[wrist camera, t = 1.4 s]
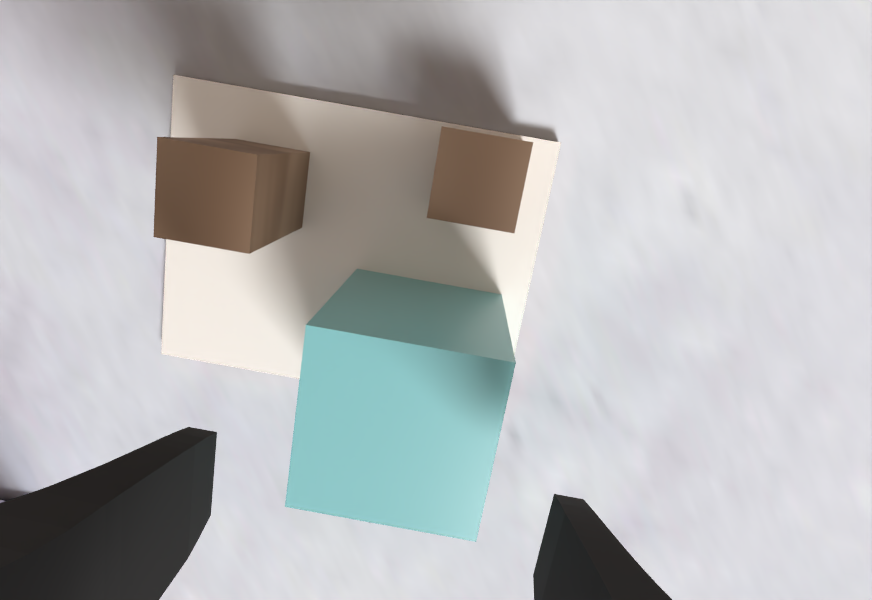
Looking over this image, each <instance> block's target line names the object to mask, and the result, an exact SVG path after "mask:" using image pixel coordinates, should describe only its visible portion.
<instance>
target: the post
mask: <svg viewBox="0 0 872 600" xmlns="http://www.w3.org/2000/svg"><path fill="white" fill-rule="evenodd" d="M309 159H310V152H307V151H301V150H296V149H290V148H284V147H279V146H273V145H267V144H262V143H256V142H250V141H245V140H239V139H224V138H180V137H157V162H156V189H155V215H154V237H157V238H163V239H168V240H174V241H180V242H185V243H191V244H196V245H202V246H208V247H213V248H219V249H224V250H230V251H236V252H241V253H247V254H250V253H252V252H254V251H256V250H258V249H260V248H262V247H264V246H266V245H268V244H270V243H272V242H274V241H276V240H278V239H280V238H282V237H284V236H286V235H288V234H290V233H292V232H294V231H296V230H299V229H301V228H302V224H303V215H304V205H305V196H306V187H307V177H308V168H309Z"/></svg>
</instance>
